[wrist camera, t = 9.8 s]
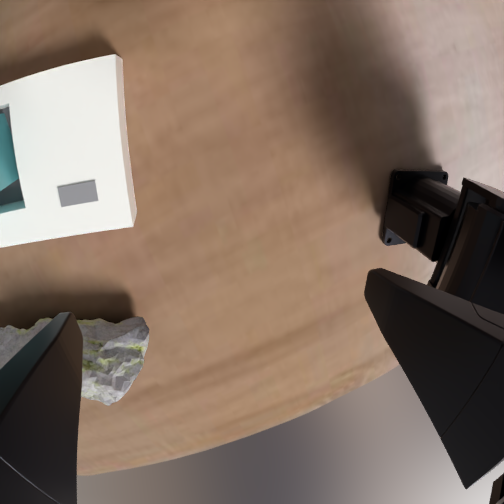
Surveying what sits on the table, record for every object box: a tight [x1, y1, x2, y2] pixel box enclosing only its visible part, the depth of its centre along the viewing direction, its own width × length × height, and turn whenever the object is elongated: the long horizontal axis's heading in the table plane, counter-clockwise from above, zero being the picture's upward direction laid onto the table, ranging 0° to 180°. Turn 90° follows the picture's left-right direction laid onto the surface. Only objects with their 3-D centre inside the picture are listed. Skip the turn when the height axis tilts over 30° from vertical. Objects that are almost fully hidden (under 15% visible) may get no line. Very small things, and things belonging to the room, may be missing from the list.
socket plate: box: [0, 54, 137, 248], centre depth 15 cm, size 14×10×3 cm
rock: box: [0, 317, 149, 406], centre depth 21 cm, size 16×7×7 cm, turn 88°
